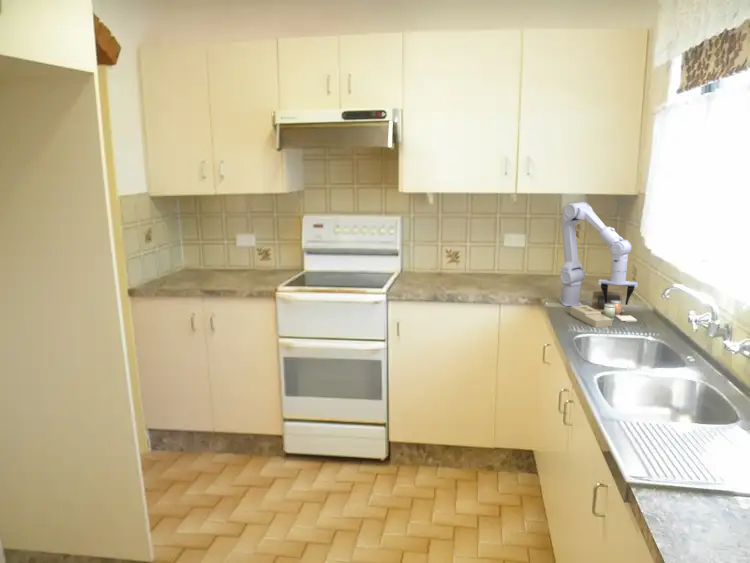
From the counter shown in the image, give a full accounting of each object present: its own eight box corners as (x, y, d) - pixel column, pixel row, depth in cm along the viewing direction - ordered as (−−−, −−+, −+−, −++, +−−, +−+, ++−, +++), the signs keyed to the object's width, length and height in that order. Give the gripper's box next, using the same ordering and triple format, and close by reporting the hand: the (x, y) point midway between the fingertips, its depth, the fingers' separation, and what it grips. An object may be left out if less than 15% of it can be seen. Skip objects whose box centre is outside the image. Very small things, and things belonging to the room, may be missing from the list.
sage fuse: (601, 317, 232) (603, 303, 231) (611, 317, 232) (613, 303, 231) (605, 320, 228) (606, 306, 227) (615, 320, 228) (617, 306, 227)
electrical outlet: (596, 318, 219) (570, 305, 236) (595, 328, 220) (569, 315, 237) (612, 317, 221) (586, 304, 238) (612, 327, 222) (585, 314, 239)
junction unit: (590, 308, 244) (592, 290, 242) (619, 308, 244) (621, 290, 242) (595, 312, 240) (596, 293, 238) (624, 312, 239) (626, 293, 237)
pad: (615, 317, 233) (615, 315, 233) (630, 316, 233) (630, 315, 233) (621, 321, 227) (621, 320, 227) (637, 321, 227) (637, 319, 227)
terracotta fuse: (608, 313, 237) (609, 299, 236) (618, 313, 237) (619, 299, 236) (611, 316, 233) (612, 302, 232) (621, 316, 233) (622, 302, 232)
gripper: (638, 269, 231) (635, 302, 235) (600, 267, 237) (597, 299, 241) (638, 273, 225) (635, 307, 228) (599, 270, 231) (596, 303, 234)
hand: (616, 303), depth 234 cm, fingers open, 7 cm apart
